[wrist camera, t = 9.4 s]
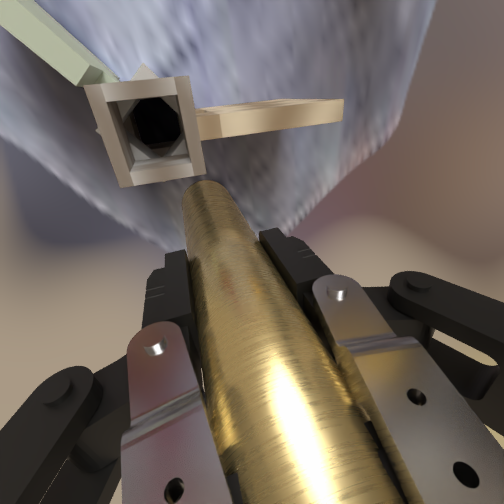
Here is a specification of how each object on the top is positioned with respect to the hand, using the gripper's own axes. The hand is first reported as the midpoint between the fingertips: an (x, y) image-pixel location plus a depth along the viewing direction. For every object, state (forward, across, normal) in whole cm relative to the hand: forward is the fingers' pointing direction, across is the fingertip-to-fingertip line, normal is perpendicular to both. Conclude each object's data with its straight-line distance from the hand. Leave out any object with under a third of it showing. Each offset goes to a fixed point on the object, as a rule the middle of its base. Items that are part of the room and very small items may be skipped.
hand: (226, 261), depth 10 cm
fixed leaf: (+27, -3, -3) cm, 27 cm away
